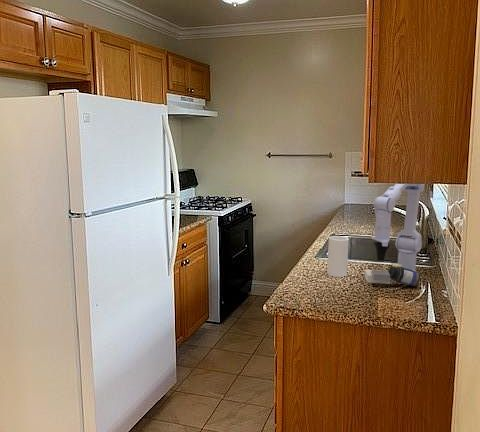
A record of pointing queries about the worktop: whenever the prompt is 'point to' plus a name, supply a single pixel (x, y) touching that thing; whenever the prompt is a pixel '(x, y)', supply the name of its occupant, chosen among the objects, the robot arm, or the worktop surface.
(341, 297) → the worktop surface
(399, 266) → the plug
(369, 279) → the socket
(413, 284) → the pill bottle
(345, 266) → the cup
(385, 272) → the grey square block
